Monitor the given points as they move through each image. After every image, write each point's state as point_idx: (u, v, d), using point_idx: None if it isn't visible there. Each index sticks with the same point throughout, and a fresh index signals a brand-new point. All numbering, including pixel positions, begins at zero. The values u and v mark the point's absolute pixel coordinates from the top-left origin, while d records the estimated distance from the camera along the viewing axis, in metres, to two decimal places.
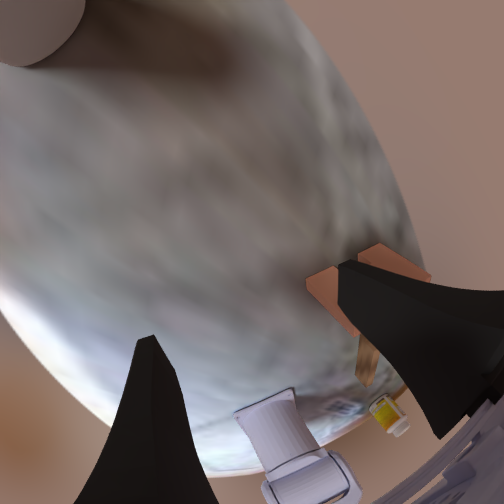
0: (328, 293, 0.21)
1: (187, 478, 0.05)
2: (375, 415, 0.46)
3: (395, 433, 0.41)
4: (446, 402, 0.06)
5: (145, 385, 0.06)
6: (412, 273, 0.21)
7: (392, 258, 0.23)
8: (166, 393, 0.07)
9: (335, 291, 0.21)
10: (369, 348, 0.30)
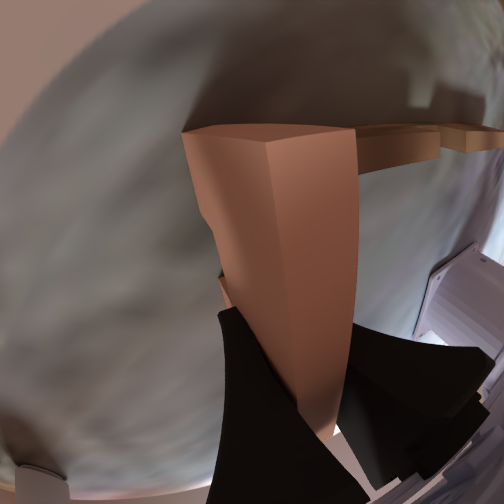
0: None
1: None
2: None
3: None
4: (374, 461, 0.05)
5: (251, 349, 0.07)
6: (241, 212, 0.04)
7: (202, 170, 0.07)
8: None
9: None
10: None
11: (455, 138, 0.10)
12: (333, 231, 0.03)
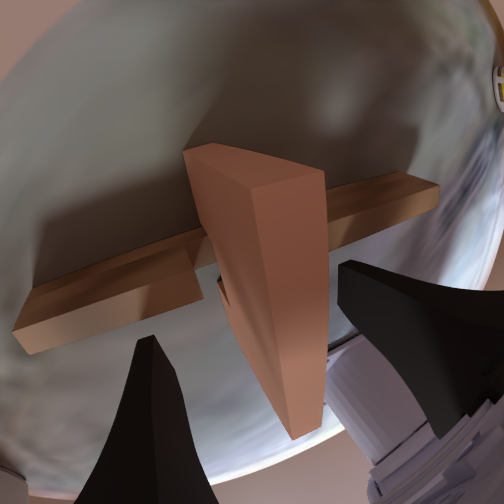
0: (248, 359, 0.11)
1: (187, 478, 0.05)
2: None
3: None
4: (445, 402, 0.06)
5: (145, 385, 0.06)
6: (235, 233, 0.05)
7: (202, 190, 0.08)
8: (166, 393, 0.07)
9: (247, 354, 0.11)
10: None
11: None
12: (306, 251, 0.04)
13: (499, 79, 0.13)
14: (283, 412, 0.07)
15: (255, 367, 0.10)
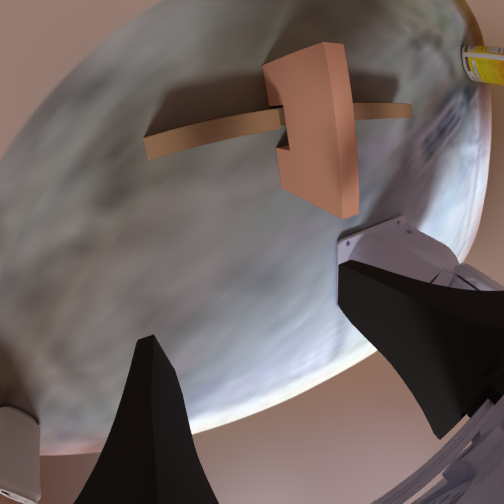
0: (301, 190, 0.17)
1: (187, 478, 0.05)
2: (484, 81, 0.20)
3: None
4: (445, 403, 0.06)
5: (145, 385, 0.06)
6: (311, 69, 0.11)
7: (283, 72, 0.13)
8: (166, 393, 0.07)
9: (301, 182, 0.16)
10: None
11: None
12: (340, 66, 0.10)
13: (466, 54, 0.19)
14: (335, 182, 0.13)
15: (309, 182, 0.16)
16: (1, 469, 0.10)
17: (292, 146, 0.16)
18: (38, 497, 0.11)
